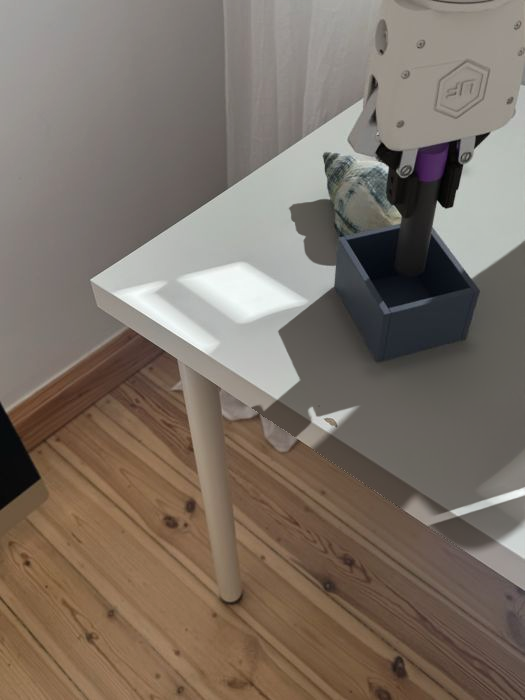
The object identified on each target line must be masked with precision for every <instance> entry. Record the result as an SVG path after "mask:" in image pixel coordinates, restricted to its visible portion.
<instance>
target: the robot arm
mask: <svg viewBox="0 0 525 700" xmlns="http://www.w3.org/2000/svg"><path fill="white" fill-rule="evenodd" d="M376 16H377V17H376V20H375V23H374V27H373V32H372V37H371V42H370V47H369V53H368V59H367V65H366V71H365V80H364V89H363V99H362V110H361V112H360V114H359V116H358V118H357V120H356V121H355V123H354V125H353V127H352V129H351V130H350V132H349V134H348V136H347V143H348V145H350V147H351V148H352V150H353V152H354V153H356V154H360V155H364V156H367V157H371V158H374V157H375V158H378V159H379V160H380V162H381V163H384V164H385V165H387V166H389V170H388V178H387V187H386V196H387V199H388V201H389V203H390V204H391V205H392V206H393V205H394V206H395V207H396V209H397V210H398V211H399V213H400V214H401V216H402V217H403V218H404V219H406V218H410V217H411V216H412V215H413V212H414V206H415V200H416V193H417V187H418V181H419V178H418V175H417V174H416V172H415V171H414V170H413V169H414V165H415V161H416V156H417V152H418V148H422V147H427V146H431V145H436V144H441V143H445V142H448V144H449V148H448V153H447V158H446V164H445V169H444V174H443V175H442V178H441V183H440V189H439V194H438V199H437V203H439V205H440V207H442V208H444V209H445V210H447V209H451V208H454V204H455V200H456V195H457V191H458V190H459V188H460V183H461V178H462V174H463V169H464V165H467V164H468V163H470V162H471V160H472V159H473V157H474V154H475V153H474V152H475V149H476V148H477V147H479V146H480V144H482V143H483V142H484V141H485V140H486V139H487V138H488V137H489V136H490V135H491V133H493V132H494V131H497V130H499V129H501V128H503V127H505V126H506V125H507V124H509V122H511V120H513V118H514V117H515V115H516V112H517V110H516V106H517V102H518V99H519V93H520V91H521V90H520V89H521V84H522V80H523V76H524V75H523V74H524V69H525V0H381V2H380V5H379V9H378V12H377V15H376Z"/></svg>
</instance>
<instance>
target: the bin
mask: <svg viewBox="0 0 525 700" xmlns="http://www.w3.org/2000/svg"><path fill="white" fill-rule="evenodd" d="M400 224H401V223H400ZM400 224H396V225H392V226H387V227H383V228H378V229H374V230H370V231H365V232H361V233H356V234H352V235H347V236H343V237H340V236H339V237H337V246H336V257H335V258H336V259H335V272H334V284H333V286H334V289H335V291H336V293H337V294H338V296H339V298H340V300H341V301H342V303H343V305H344V307H345V308H346V310H347V312H348V314H349V315H350V317H351V319H352V321H353V322H354V325H355V326H356V328H357V330H358V331H359V333H360V335H361V337H362V339H363V341H364V343H365V344H366V346H367V348H368V350H369V351H370V353H371V355H372V357H373V359H374V361H375V362H376V363H377V364H379V363H382V362H385V361H390V360H393V359H397V358H401V357H404V356H408V355H412V354H416V353H420V352H424V351H427V350H431V349H435V348H438V347H442V346H446V345H450V344H453V343H454V344H455V343H457V342H461V341H465V340H467V339H468V335H469V331H470V328H471V324H472V321H473V317H474V314H475V310H476V308H477V307H476V306H477V303H478V299H479V296H480V292H481V290H480V288H479V287H478V286H477V284H476V283H475V282H474V280H473V279H472V277H471V276H470V275H469V273H468V272H467V271H466V269H464V266H463V265H462V264H461V263H460V262H459V260H458V259H457V258H456V256H455V255H454V254H453V252H452V251H451V250H450V248H449V247H448V245H447V244H446V242H445V241H444V240H443V239H442V238H441V236H440V235H439V233H438V232H437V230H435V228H434V226H432V232H431V237H430V243H429V248H428V253H427V259H426V264H425V269H424V271H423V272H422V273H421V274H420V275H418V276H414V277H408V276H404V275H402V274H400V273H399V272H397V270H396V269H395V259H396V252H397V245H398V238H399V231H400Z"/></svg>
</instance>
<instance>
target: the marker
mask: <svg viewBox="0 0 525 700" xmlns="http://www.w3.org/2000/svg"><path fill="white" fill-rule="evenodd" d="M448 148H449V144H448V142H445V143H441V144H436V145H431V146H427V147H422V148H418V152H417V156H416V161H415V165H414V169H413V170H414V171H415V172H416V174H417V175H418V178H419V181H418V187H417V193H416V200H415V206H414V212H413V215H412V216H411V217H410V218H406V219H404V218H403V217H401V224H400V231H399V238H398V245H397V252H396V259H395V269H396V270H397V272H399V273H400V274H402V275H404V276H408V277H414V276H418V275H420V274H421V273H422V272H423V271H424V269H425V264H426V259H427V253H428V248H429V243H430V237H431V232H432V227H434V222H435V221H434V220H435V215H436V210H437V204H438V201H437V199H438V194H439V189H440V183H441V178H442V175H443V174H444V169H445V164H446V158H447V153H448Z"/></svg>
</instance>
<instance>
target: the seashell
mask: <svg viewBox="0 0 525 700" xmlns="http://www.w3.org/2000/svg"><path fill="white" fill-rule="evenodd" d="M322 159H323V164H324V174H325V177H326V188H327V192H328V196H329V199H330V200H331V202H332V203H333V204H334V205H333V210H334V218H335V219H334V221H333V225H334V228H335V230H336V233H337V234H338V236H339V237H343V236H347V235H352V234H356V233H361V232H365V231H370V230H374V229H378V228H383V227H387V226H392V225H396V224H400V223H401V217H402V216H401V214H400V213H399V211H398V210H397V209H396V207H395V206H394V205H393V206H392V205H391V204H390V203H389V201H388V199H387V196H386V187H387V178H388V170H389V167H388V165H386V164H385V163H384V162H382V161H376V160H360V159H359V158H357V157H355V156H354V155H351V154H341V153H338V152H330V151H325V152H323V154H322Z"/></svg>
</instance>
